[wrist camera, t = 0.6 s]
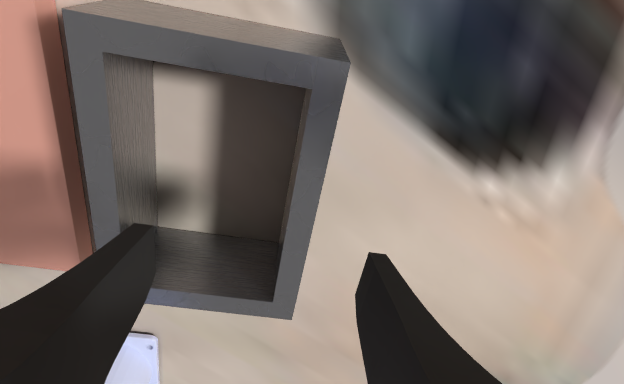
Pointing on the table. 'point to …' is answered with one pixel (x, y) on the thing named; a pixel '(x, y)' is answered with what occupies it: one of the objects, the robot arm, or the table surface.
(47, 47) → the board
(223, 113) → the table surface
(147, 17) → the gray open box
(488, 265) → the table surface
